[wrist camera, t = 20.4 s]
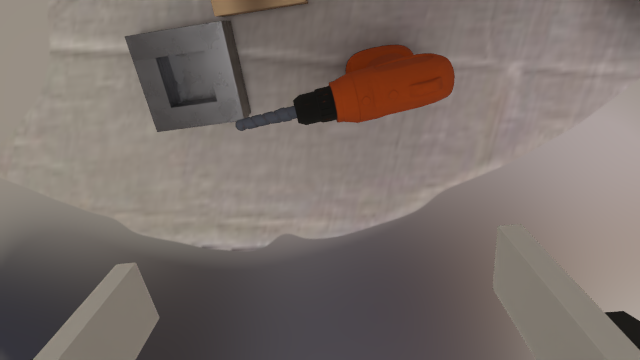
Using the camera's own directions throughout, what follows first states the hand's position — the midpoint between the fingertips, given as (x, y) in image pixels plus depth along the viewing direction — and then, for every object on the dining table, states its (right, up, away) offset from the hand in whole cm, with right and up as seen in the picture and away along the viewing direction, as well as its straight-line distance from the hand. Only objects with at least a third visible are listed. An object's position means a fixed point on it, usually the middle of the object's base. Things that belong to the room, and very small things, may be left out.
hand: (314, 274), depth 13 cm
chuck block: (-14, +15, +27) cm, 34 cm away
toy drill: (+3, +15, +27) cm, 31 cm away
